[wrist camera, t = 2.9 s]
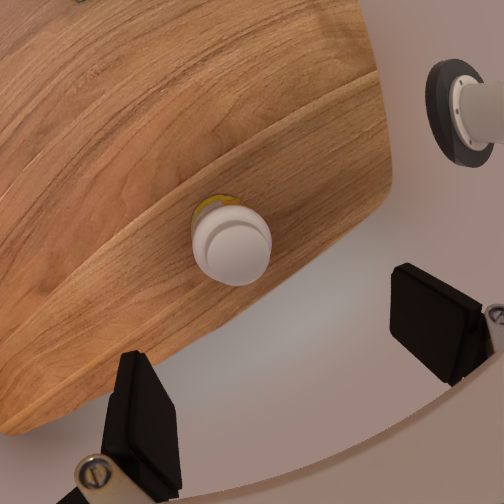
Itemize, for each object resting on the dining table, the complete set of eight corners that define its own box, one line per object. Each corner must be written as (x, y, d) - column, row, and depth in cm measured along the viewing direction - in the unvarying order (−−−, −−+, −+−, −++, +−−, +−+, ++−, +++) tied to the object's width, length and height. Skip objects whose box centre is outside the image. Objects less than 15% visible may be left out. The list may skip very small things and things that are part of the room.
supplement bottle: (260, 229, 29) (297, 267, 19) (211, 261, 28) (226, 313, 19) (229, 180, 26) (254, 194, 17) (178, 214, 26) (174, 246, 17)
